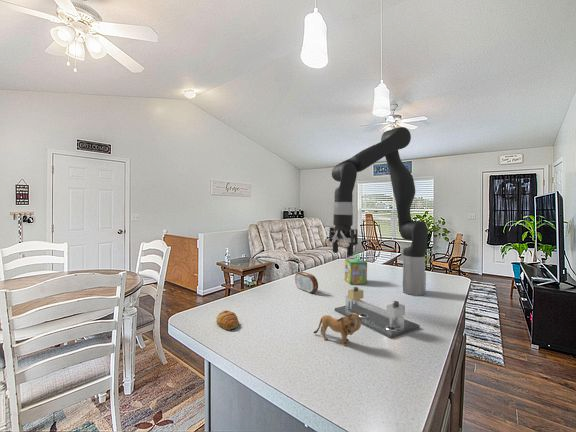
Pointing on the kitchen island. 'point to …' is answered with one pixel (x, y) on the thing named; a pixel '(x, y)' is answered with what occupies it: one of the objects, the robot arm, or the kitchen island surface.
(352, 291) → the block
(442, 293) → the kitchen island surface
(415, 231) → the robot arm
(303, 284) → the tin
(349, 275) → the chalk box
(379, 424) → the kitchen island surface
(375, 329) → the bolt plate
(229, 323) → the pastry
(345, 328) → the lion figurine
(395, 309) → the divider frame
